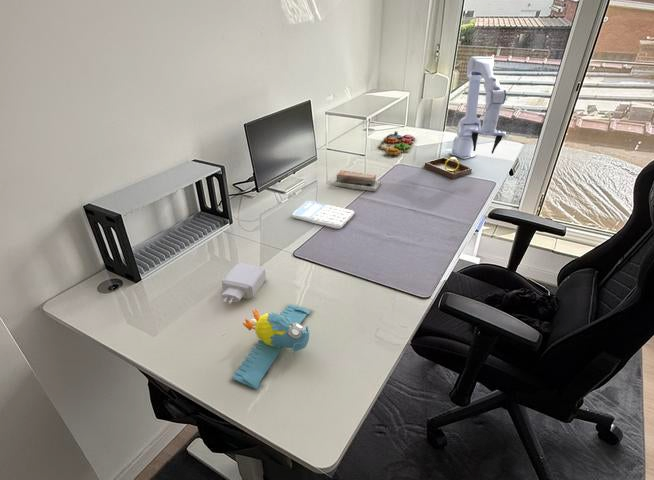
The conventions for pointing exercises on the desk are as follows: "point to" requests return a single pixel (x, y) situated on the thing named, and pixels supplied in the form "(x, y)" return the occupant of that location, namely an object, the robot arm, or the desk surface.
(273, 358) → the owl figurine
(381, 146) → the gear puzzle
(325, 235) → the desk surface
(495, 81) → the robot arm
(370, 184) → the packaged product
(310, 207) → the calculator
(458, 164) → the watch
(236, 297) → the charger
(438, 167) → the tray
